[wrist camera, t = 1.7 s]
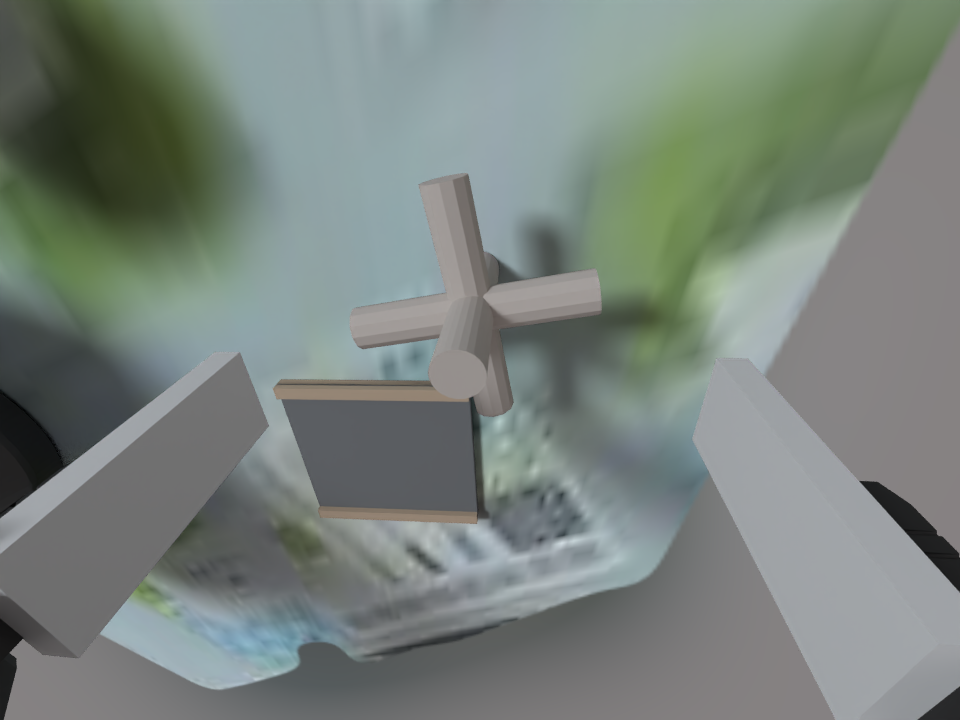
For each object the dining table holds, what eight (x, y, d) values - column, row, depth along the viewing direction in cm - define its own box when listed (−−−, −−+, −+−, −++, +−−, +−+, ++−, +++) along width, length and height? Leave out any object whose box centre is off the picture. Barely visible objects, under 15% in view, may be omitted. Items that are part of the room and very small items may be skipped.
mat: (325, 506, 32) (320, 517, 31) (281, 379, 26) (272, 388, 25) (478, 512, 31) (477, 523, 30) (469, 381, 25) (468, 390, 24)
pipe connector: (587, 339, 23) (628, 476, 14) (416, 363, 24) (362, 497, 16) (571, 139, 18) (621, 164, 9) (358, 186, 19) (234, 244, 11)
